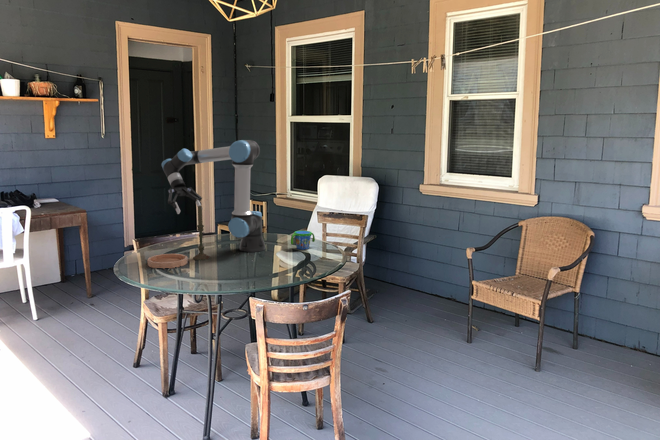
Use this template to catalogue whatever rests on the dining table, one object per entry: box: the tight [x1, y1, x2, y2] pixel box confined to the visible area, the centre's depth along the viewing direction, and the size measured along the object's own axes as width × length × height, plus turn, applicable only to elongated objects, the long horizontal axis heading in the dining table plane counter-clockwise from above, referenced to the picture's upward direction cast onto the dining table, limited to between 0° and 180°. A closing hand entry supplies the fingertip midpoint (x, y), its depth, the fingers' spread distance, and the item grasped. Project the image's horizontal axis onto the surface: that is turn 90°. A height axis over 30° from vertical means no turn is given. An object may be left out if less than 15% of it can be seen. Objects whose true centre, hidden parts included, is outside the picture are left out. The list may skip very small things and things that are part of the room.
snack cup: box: [290, 230, 316, 250], centre depth 316 cm, size 16×10×10 cm
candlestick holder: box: [192, 205, 211, 261], centre depth 288 cm, size 9×9×30 cm
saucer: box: [147, 253, 188, 270], centre depth 279 cm, size 20×20×3 cm
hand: (190, 211), depth 294 cm, fingers open, 13 cm apart
